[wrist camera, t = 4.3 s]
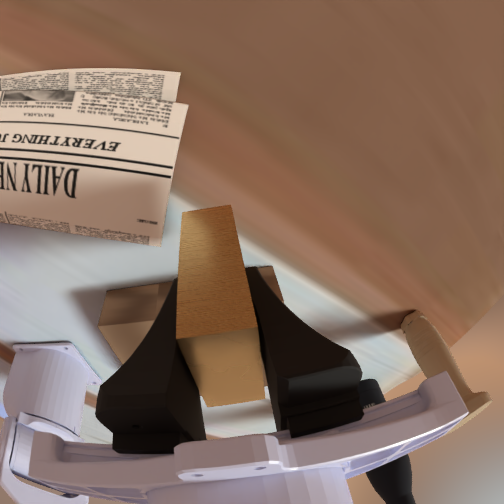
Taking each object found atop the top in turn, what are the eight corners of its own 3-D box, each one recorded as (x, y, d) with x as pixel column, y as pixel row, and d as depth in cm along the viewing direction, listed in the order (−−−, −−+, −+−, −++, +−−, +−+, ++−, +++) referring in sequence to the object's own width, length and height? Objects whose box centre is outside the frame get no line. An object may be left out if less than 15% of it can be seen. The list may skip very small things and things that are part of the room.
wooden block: (199, 285, 18) (207, 407, 12) (182, 212, 15) (175, 339, 9) (240, 278, 18) (265, 398, 12) (231, 204, 15) (258, 326, 9)
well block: (150, 369, 31) (148, 400, 27) (107, 290, 23) (97, 326, 20) (276, 351, 32) (283, 382, 28) (272, 266, 25) (283, 300, 21)
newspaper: (197, 73, 16) (195, 78, 14) (163, 230, 23) (160, 250, 21) (-63, 74, 9) (-82, 83, 7) (-51, 199, 17) (-65, 215, 15)
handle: (382, 331, 33) (435, 438, 21) (421, 294, 31) (488, 400, 19) (400, 339, 35) (449, 434, 23) (436, 306, 33) (495, 400, 21)
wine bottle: (353, 401, 45) (404, 552, 21) (331, 397, 42) (385, 567, 18) (383, 382, 42) (444, 538, 18) (364, 375, 39) (430, 553, 15)
